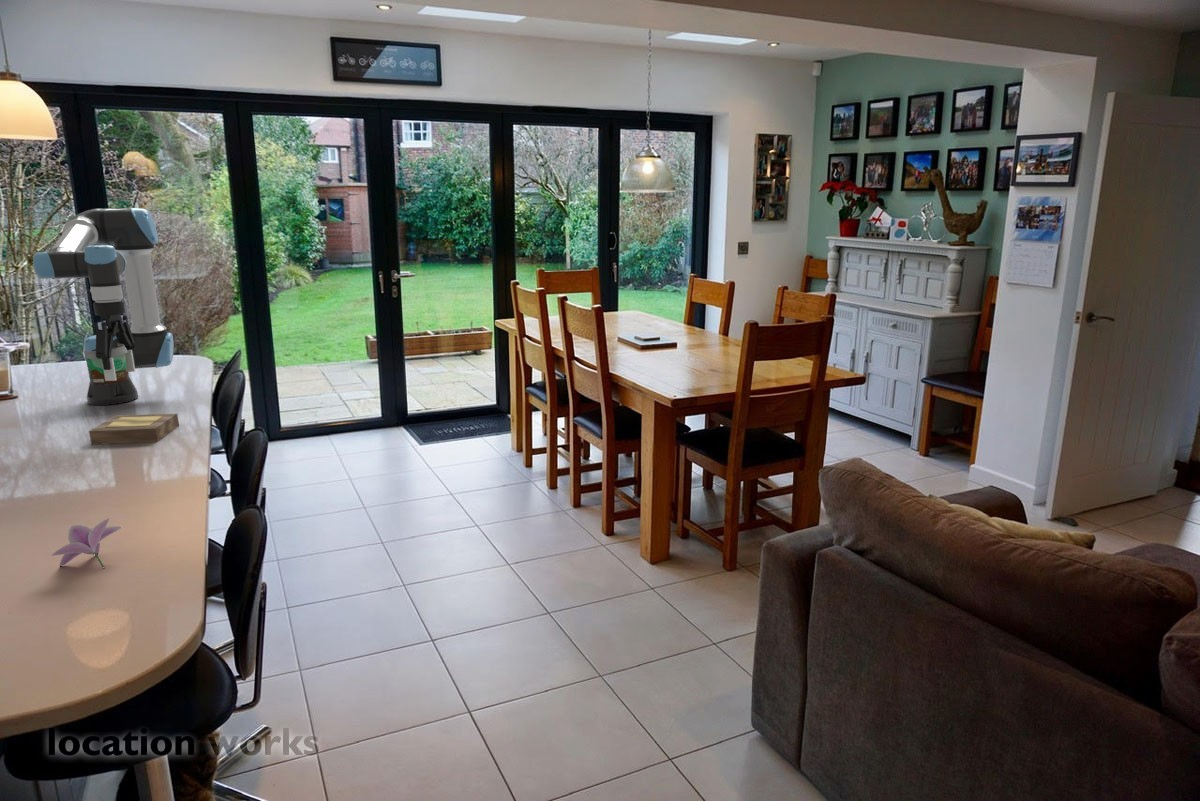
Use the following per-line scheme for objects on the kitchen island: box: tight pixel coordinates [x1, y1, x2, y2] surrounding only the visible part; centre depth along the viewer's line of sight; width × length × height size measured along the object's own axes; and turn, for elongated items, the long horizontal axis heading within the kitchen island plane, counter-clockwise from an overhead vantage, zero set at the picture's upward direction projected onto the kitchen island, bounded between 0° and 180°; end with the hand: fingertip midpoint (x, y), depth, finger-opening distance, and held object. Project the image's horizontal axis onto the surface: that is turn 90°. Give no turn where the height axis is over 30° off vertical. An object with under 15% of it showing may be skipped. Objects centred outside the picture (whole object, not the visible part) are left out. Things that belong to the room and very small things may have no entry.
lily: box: [51, 518, 122, 568], centre depth 152 cm, size 12×12×10 cm
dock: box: [88, 413, 180, 445], centre depth 233 cm, size 16×18×4 cm
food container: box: [84, 344, 127, 385], centre depth 227 cm, size 12×6×10 cm, turn 166°
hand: (120, 375), depth 229 cm, fingers closed on food container, 11 cm apart
